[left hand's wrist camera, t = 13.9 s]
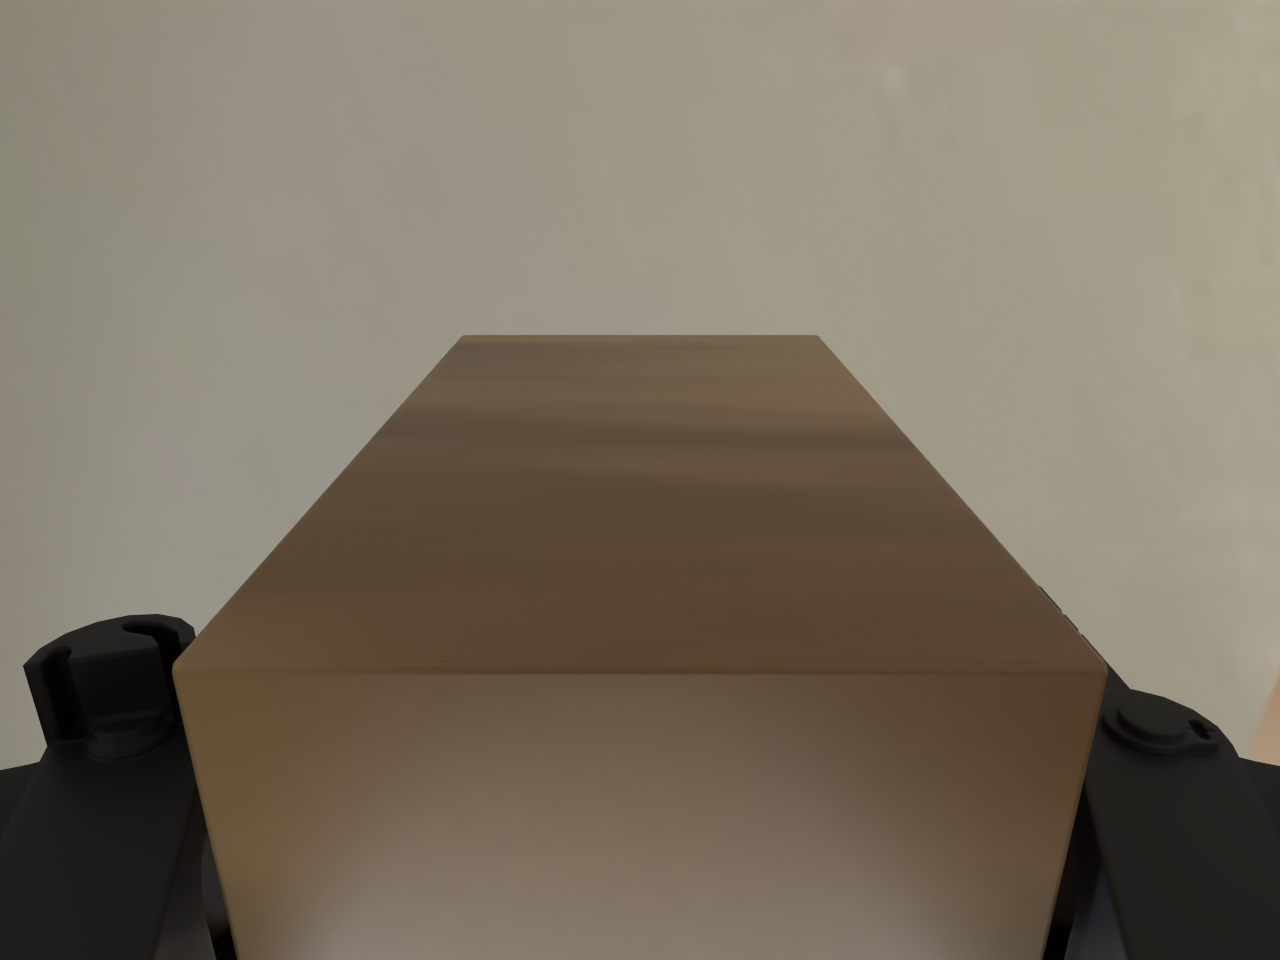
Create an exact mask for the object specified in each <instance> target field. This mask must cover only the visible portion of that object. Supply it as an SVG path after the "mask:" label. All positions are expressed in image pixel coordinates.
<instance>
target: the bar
mask: <svg viewBox="0 0 1280 960" xmlns="http://www.w3.org/2000/svg"><path fill="white" fill-rule="evenodd" d="M172 676H173V680H174V685H175V689H176V694H177V698H178V702H179V707H180V711H181V716H182V720H183V724H184V729H185V733H186V737H187V742H188V746H189V751H190V755H191V759H192V764H193V768H194V773H195V777H196V781H197V786H198V790H199V795H200V799H201V803H202V808H203V812H204V816H205V821H206V825H207V830H208V834H209V838H210V843H211V847H212V852H213V856H214V860H215V865H216V869H217V874H218V878H219V882H220V887H221V891H222V895H223V900H224V904H225V909H226V913H227V917H228V922H229V926H230V931H231V935H232V939H233V944H234V948H235V953H236V957H237V960H1043V957H1044V952H1045V948H1046V944H1047V939H1048V935H1049V931H1050V926H1051V922H1052V917H1053V913H1054V909H1055V904H1056V900H1057V895H1058V891H1059V887H1060V882H1061V878H1062V874H1063V869H1064V865H1065V860H1066V856H1067V852H1068V847H1069V843H1070V838H1071V834H1072V830H1073V825H1074V821H1075V817H1076V812H1077V808H1078V803H1079V799H1080V795H1081V790H1082V786H1083V781H1084V777H1085V773H1086V768H1087V764H1088V760H1089V755H1090V751H1091V746H1092V742H1093V738H1094V733H1095V729H1096V724H1097V720H1098V716H1099V711H1100V707H1101V703H1102V698H1103V694H1104V689H1105V685H1106V681H1107V676H1108V668H1107V665H1106V662H1105V661H1104V660H1103V659H1102V658H1101V656H1100V655H1099V654H1098V653H1097V652H1096V651H1095V650H1094V649H1093V647H1092V646H1091V645H1090V644H1089V643H1088V642H1087V641H1086V639H1085V638H1084V637H1083V636H1082V635H1081V634H1080V633H1079V632H1078V630H1077V629H1076V628H1075V627H1074V626H1073V625H1072V624H1071V622H1070V621H1069V620H1068V619H1067V618H1066V617H1065V616H1064V614H1063V613H1062V612H1061V611H1060V610H1059V609H1058V608H1057V607H1056V605H1055V604H1054V603H1053V602H1052V601H1051V600H1050V599H1049V597H1048V596H1047V595H1046V594H1045V593H1044V592H1043V591H1042V590H1041V588H1040V587H1039V586H1038V585H1037V584H1036V583H1035V582H1034V580H1033V579H1032V578H1031V577H1030V576H1029V575H1028V574H1027V572H1026V571H1025V570H1024V569H1023V568H1022V567H1021V566H1020V565H1019V563H1018V562H1017V561H1016V560H1015V559H1014V558H1013V557H1012V555H1011V554H1010V553H1009V552H1008V551H1007V550H1006V549H1005V548H1004V546H1003V545H1002V544H1001V543H1000V542H999V541H998V540H997V538H996V537H995V536H994V535H993V534H992V533H991V532H990V530H989V529H988V528H987V527H986V526H985V525H984V524H983V523H982V521H981V520H980V519H979V518H978V517H977V516H976V515H975V513H974V512H973V511H972V510H971V509H970V508H969V507H968V506H967V504H966V503H965V502H964V501H963V500H962V499H961V498H960V496H959V495H958V494H957V493H956V492H955V491H954V490H953V488H952V487H951V486H950V485H949V484H948V483H947V482H946V481H945V479H944V478H943V477H942V476H941V475H940V474H939V473H938V471H937V470H936V469H935V468H934V467H933V466H932V465H931V464H930V462H929V461H928V460H927V459H926V458H925V457H924V456H923V454H922V453H921V452H920V451H919V450H918V449H917V448H916V446H915V445H914V444H913V443H912V442H911V441H910V440H909V439H908V437H907V436H906V435H905V434H904V433H903V432H902V431H901V429H900V428H899V427H898V426H897V425H896V424H895V423H894V422H893V420H892V419H891V418H890V417H889V416H888V415H887V414H886V412H885V411H884V410H883V409H882V408H881V407H880V406H879V404H878V403H877V402H876V401H875V400H874V399H873V398H872V397H871V395H870V394H869V393H868V392H867V391H866V390H865V389H864V387H863V386H862V385H861V384H860V383H859V382H858V381H857V380H856V378H855V377H854V376H853V375H852V374H851V373H850V372H849V370H848V369H847V368H846V367H845V366H844V365H843V364H842V362H841V361H840V360H839V359H838V358H837V357H836V356H835V355H834V353H833V352H832V351H831V350H830V349H829V348H828V347H827V345H826V344H825V343H824V342H823V341H822V340H821V339H820V338H819V336H816V335H464V336H462V337H461V338H460V339H459V340H458V341H457V342H456V344H455V345H454V346H453V347H452V348H451V349H450V350H449V351H448V353H447V354H446V355H445V356H444V357H443V358H442V359H441V361H440V362H439V363H438V364H437V365H436V366H435V367H434V368H433V370H432V371H431V372H430V373H429V374H428V375H427V376H426V378H425V379H424V380H423V381H422V382H421V383H420V384H419V385H418V387H417V388H416V389H415V390H414V391H413V392H412V393H411V395H410V396H409V397H408V398H407V399H406V400H405V401H404V402H403V404H402V405H401V406H400V407H399V408H398V409H397V410H396V412H395V413H394V414H393V415H392V416H391V417H390V418H389V419H388V421H387V422H386V423H385V424H384V425H383V426H382V427H381V429H380V430H379V431H378V432H377V433H376V434H375V435H374V436H373V438H372V439H371V440H370V441H369V442H368V443H367V444H366V446H365V447H364V448H363V449H362V450H361V451H360V452H359V453H358V455H357V456H356V457H355V458H354V459H353V460H352V461H351V463H350V464H349V465H348V466H347V467H346V468H345V469H344V470H343V472H342V473H341V474H340V475H339V476H338V477H337V478H336V479H335V481H334V482H333V483H332V484H331V485H330V486H329V487H328V489H327V490H326V491H325V492H324V493H323V494H322V495H321V496H320V498H319V499H318V500H317V501H316V502H315V503H314V504H313V506H312V507H311V508H310V509H309V510H308V511H307V512H306V513H305V515H304V516H303V517H302V518H301V519H300V520H299V521H298V523H297V524H296V525H295V526H294V527H293V528H292V529H291V530H290V532H289V533H288V534H287V535H286V536H285V537H284V538H283V540H282V541H281V542H280V543H279V544H278V545H277V546H276V547H275V549H274V550H273V551H272V552H271V553H270V554H269V555H268V557H267V558H266V559H265V560H264V561H263V562H262V563H261V564H260V566H259V567H258V568H257V569H256V570H255V571H254V572H253V574H252V575H251V576H250V577H249V578H248V579H247V580H246V581H245V583H244V584H243V585H242V586H241V587H240V588H239V589H238V591H237V592H236V593H235V594H234V595H233V596H232V597H231V598H230V600H229V601H228V602H227V603H226V604H225V605H224V606H223V608H222V609H221V610H220V611H219V612H218V613H217V614H216V615H215V617H214V618H213V619H212V620H211V621H210V622H209V623H208V625H207V626H206V627H205V628H204V629H203V630H202V631H201V632H200V634H199V635H198V636H197V637H196V638H195V639H194V640H193V642H192V643H191V644H190V645H189V646H188V647H187V648H186V649H185V651H184V652H183V653H182V654H181V655H180V656H179V657H178V659H177V660H176V661H175V662H174V664H173V668H172Z"/></svg>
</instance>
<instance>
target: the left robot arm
mask: <svg viewBox="0 0 1280 960" xmlns="http://www.w3.org/2000/svg"><path fill="white" fill-rule="evenodd" d="M1039 587H1040V586H1039ZM1040 588H1041V587H1040ZM1041 590H1042V591H1043V592H1044V593H1045V594H1046V595H1047V596H1048V594H1047V593H1046V592H1045V591H1044V590H1043V589H1042V588H1041ZM1048 597H1049V596H1048ZM1049 599H1050V600H1051V601H1052V602H1053V603H1054V604H1055V602H1054V601H1053V600H1052V599H1051V598H1050V597H1049ZM1055 605H1056V604H1055ZM1056 607H1057V608H1058V609H1059V610H1060V611H1061V609H1060V608H1059V607H1058V606H1057V605H1056ZM1064 616H1065V617H1066V618H1067V619H1068V620H1069V618H1068V617H1067V616H1066V615H1064ZM1069 621H1070V620H1069ZM1070 622H1071V621H1070ZM1071 624H1072V625H1073V626H1074V627H1075V628H1076V626H1075V625H1074V624H1073V623H1072V622H1071ZM1076 629H1077V628H1076ZM1077 630H1078V629H1077ZM1081 635H1082V636H1083V634H1081ZM1083 637H1084V636H1083ZM195 638H196V636H195V631H194V628H193V627H192V626H191V625H189V624H188V623H186V622H185V621H184V620H182V619H181V618H176V617H171V616H166V615H160V614H147V615H128V616H123V617H119V618H114V619H109V620H104V621H100V622H96V623H93V624H90V625H88V626H85V627H82V628H79V629H77V630H74V631H71V632H69V633H66V634H64V635H62V636H61V637H59V638H57V639H56V640H54V641H52V642H50V643H49V644H47V645H45V646H43V647H42V648H40V649H39V650H38V651H37V652H36V653H35V654H34V655H33V656H32V657H31V658H30V659H29V660H28V661H27V662H26V663H25V664H24V665H23V668H24V671H25V674H26V677H27V681H28V684H29V687H30V691H31V694H32V697H33V700H34V704H35V707H36V710H37V714H38V717H39V720H40V723H41V727H42V730H43V733H44V737H45V740H46V743H47V748H46V750H45V752H44V754H43V756H42V758H41V760H40V762H37V763H33V764H29V765H24V766H19V767H14V768H9V769H4V770H0V960H237V957H236V953H235V948H234V944H233V939H232V935H231V931H230V926H229V922H228V917H227V913H226V909H225V904H224V900H223V895H222V891H221V887H220V882H219V878H218V874H217V869H216V865H215V860H214V856H213V852H212V847H211V843H210V838H209V834H208V830H207V825H206V821H205V816H204V812H203V808H202V803H201V799H200V795H199V790H198V786H197V781H196V777H195V773H194V768H193V764H192V759H191V755H190V751H189V746H188V742H187V737H186V733H185V729H184V724H183V720H182V716H181V711H180V707H179V702H178V698H177V694H176V689H175V685H174V680H173V676H172V668H173V664H174V662H175V661H176V660H177V659H178V657H179V656H180V655H181V654H182V653H183V652H184V651H185V649H186V648H187V647H188V646H189V645H190V644H191V643H192V642H193V640H194V639H195ZM1084 638H1085V637H1084ZM1085 639H1086V638H1085ZM1086 641H1087V642H1088V643H1089V641H1088V640H1087V639H1086ZM1089 644H1090V643H1089ZM1090 645H1091V644H1090ZM1091 646H1092V645H1091ZM1092 647H1093V646H1092ZM1093 649H1094V650H1095V651H1096V649H1095V648H1094V647H1093ZM1096 652H1097V651H1096ZM1097 653H1098V652H1097ZM1098 654H1099V653H1098ZM1099 655H1100V654H1099ZM1100 656H1101V655H1100ZM1101 658H1102V659H1103V657H1102V656H1101ZM1103 660H1104V659H1103ZM1104 661H1105V660H1104ZM1105 662H1106V661H1105ZM1106 665H1107V668H1108V676H1107V681H1106V685H1105V689H1104V694H1103V698H1102V703H1101V707H1100V711H1099V716H1098V720H1097V724H1096V729H1095V733H1094V738H1093V742H1092V746H1091V751H1090V755H1089V760H1088V764H1087V768H1086V773H1085V777H1084V781H1083V786H1082V790H1081V795H1080V799H1079V803H1078V808H1077V812H1076V817H1075V821H1074V825H1073V830H1072V834H1071V838H1070V843H1069V847H1068V852H1067V856H1066V860H1065V865H1064V869H1063V874H1062V878H1061V882H1060V887H1059V891H1058V895H1057V900H1056V904H1055V909H1054V913H1053V917H1052V922H1051V926H1050V931H1049V935H1048V939H1047V944H1046V948H1045V952H1044V957H1043V960H1280V766H1276V765H1271V764H1266V763H1261V762H1256V761H1252V760H1248V759H1244V758H1240V757H1239V756H1238V754H1237V752H1236V750H1235V748H1234V746H1233V745H1232V743H1231V742H1230V741H1229V740H1228V739H1227V737H1226V736H1225V735H1224V734H1223V732H1222V731H1221V730H1220V729H1219V728H1218V726H1216V725H1215V724H1213V723H1212V722H1210V721H1209V720H1207V719H1206V718H1204V717H1203V716H1201V715H1200V714H1199V713H1197V712H1196V711H1194V710H1192V709H1190V708H1188V707H1186V706H1183V705H1181V704H1179V703H1176V702H1174V701H1172V700H1169V699H1167V698H1165V697H1162V696H1157V695H1153V694H1149V693H1145V692H1141V691H1137V690H1133V689H1130V688H1129V687H1128V686H1127V685H1126V684H1125V683H1124V681H1123V680H1122V679H1121V678H1120V677H1119V676H1118V675H1117V673H1116V672H1115V671H1114V670H1113V669H1112V668H1111V667H1110V665H1109V664H1108V663H1107V662H1106Z"/></svg>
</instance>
